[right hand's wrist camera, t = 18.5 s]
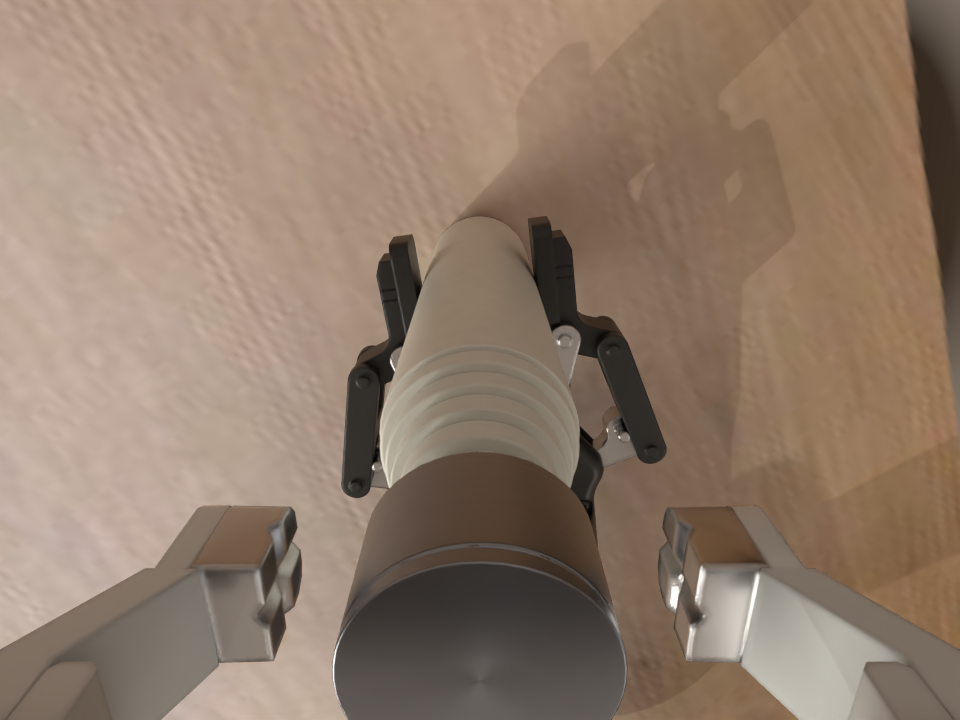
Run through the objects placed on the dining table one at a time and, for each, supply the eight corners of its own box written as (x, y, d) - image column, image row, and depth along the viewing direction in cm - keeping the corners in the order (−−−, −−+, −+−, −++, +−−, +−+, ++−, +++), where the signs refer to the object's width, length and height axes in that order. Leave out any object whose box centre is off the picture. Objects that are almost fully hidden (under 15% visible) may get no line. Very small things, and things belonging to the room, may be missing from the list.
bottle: (417, 285, 30) (270, 702, 9) (456, 199, 29) (392, 456, 7) (500, 323, 31) (546, 793, 10) (543, 241, 29) (708, 587, 8)
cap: (640, 550, 11) (687, 684, 8) (477, 667, 12) (476, 817, 9) (482, 403, 10) (484, 506, 7) (319, 546, 11) (270, 679, 8)
